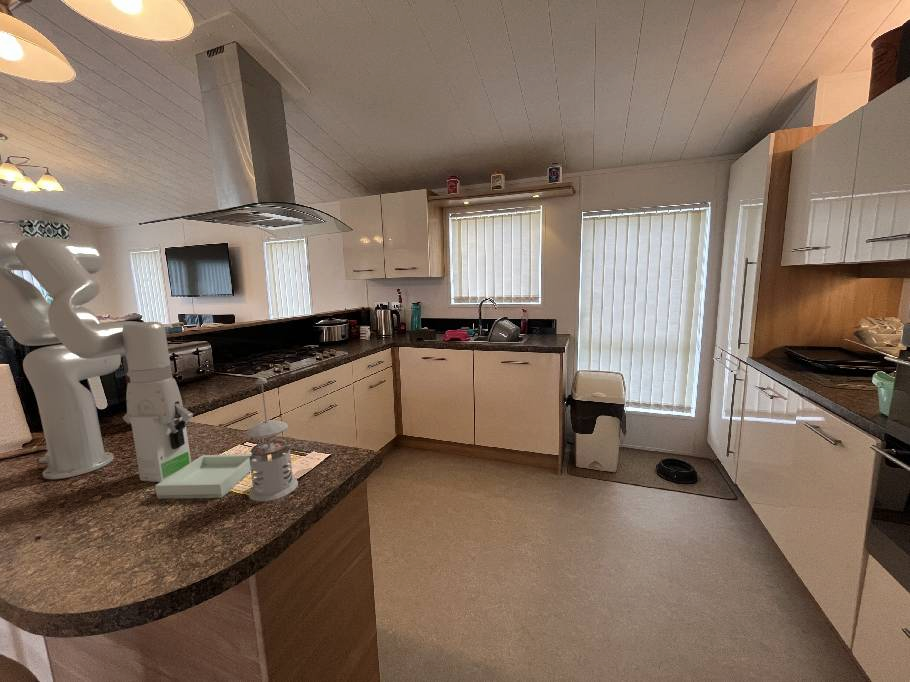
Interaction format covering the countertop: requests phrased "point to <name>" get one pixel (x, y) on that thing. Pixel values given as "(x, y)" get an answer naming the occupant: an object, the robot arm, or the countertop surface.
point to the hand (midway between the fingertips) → (163, 446)
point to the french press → (273, 473)
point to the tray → (205, 477)
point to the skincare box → (157, 449)
